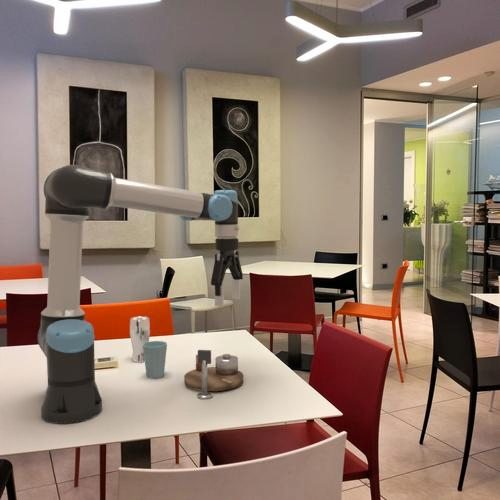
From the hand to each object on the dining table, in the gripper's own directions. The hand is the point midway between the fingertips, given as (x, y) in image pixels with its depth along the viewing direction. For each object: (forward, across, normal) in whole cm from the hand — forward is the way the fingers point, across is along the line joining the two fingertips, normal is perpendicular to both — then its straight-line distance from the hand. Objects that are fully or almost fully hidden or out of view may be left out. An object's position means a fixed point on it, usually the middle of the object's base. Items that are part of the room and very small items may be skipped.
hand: (228, 302), depth 170 cm
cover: (+20, -10, -3) cm, 23 cm away
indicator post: (+22, -26, -4) cm, 34 cm away
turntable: (+22, -14, -1) cm, 27 cm away
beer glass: (+22, -1, +34) cm, 41 cm away
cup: (+22, -14, +20) cm, 33 cm away
